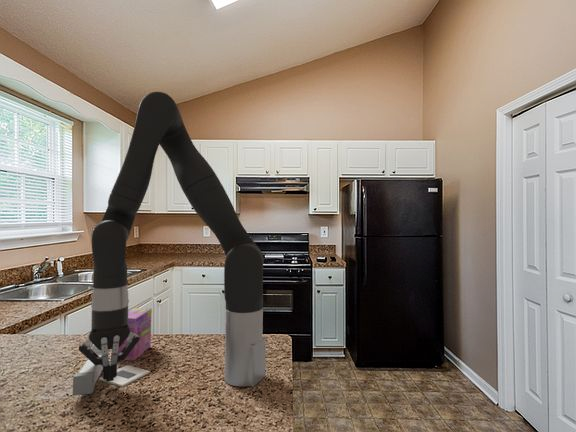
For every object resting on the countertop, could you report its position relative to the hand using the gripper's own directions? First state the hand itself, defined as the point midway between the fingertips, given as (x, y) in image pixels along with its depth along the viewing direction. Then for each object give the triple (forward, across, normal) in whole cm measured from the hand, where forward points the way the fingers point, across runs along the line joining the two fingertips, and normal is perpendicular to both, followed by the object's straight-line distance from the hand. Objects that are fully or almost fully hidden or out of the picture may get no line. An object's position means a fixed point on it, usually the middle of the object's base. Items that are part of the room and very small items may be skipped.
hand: (109, 379), depth 76 cm
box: (+2, -7, -18) cm, 20 cm away
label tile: (+2, -4, -4) cm, 5 cm away
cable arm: (0, +3, -5) cm, 6 cm away
